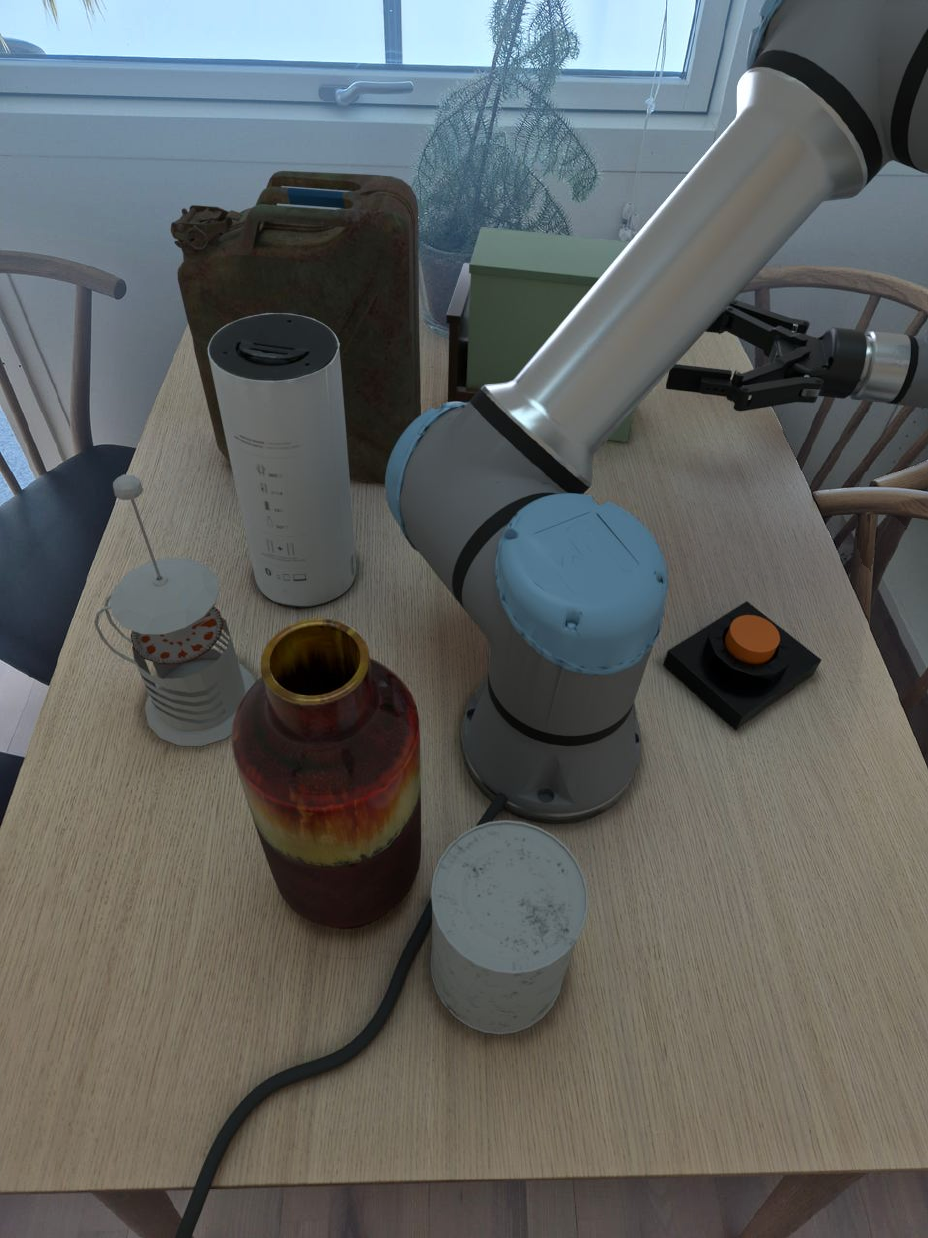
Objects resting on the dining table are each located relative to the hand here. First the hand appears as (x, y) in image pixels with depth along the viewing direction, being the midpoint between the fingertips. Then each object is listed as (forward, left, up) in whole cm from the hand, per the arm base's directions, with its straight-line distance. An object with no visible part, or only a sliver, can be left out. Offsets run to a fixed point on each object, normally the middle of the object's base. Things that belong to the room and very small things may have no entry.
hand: (667, 344), depth 95 cm
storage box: (-9, +9, -11) cm, 17 cm away
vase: (-61, -29, -11) cm, 68 cm away
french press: (-64, -7, -11) cm, 65 cm away
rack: (-13, +13, -11) cm, 21 cm away
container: (-37, +17, -11) cm, 42 cm away
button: (-21, -33, -7) cm, 40 cm away
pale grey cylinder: (-56, -41, -11) cm, 70 cm away
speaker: (-48, +1, -11) cm, 49 cm away
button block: (-21, -33, -11) cm, 41 cm away
